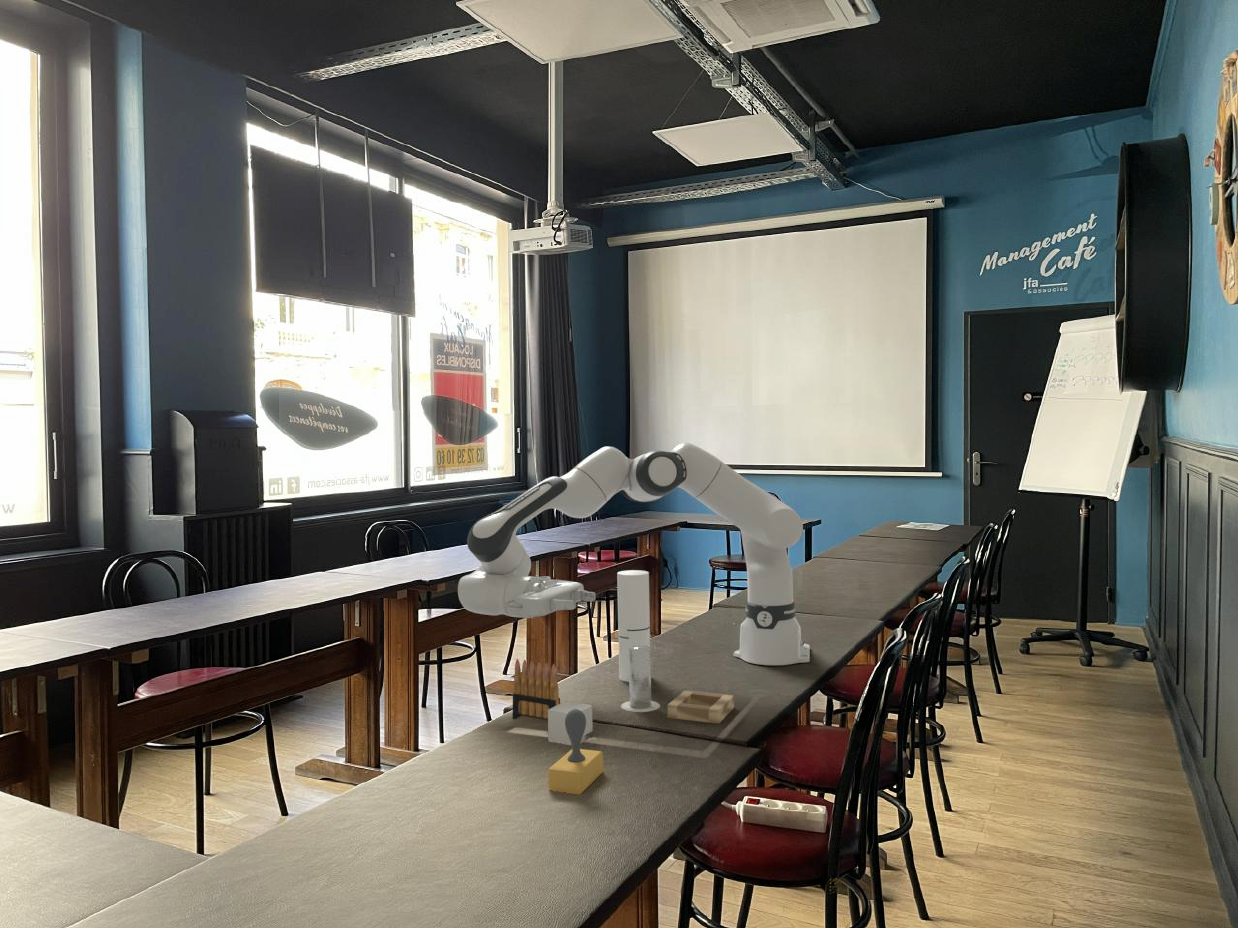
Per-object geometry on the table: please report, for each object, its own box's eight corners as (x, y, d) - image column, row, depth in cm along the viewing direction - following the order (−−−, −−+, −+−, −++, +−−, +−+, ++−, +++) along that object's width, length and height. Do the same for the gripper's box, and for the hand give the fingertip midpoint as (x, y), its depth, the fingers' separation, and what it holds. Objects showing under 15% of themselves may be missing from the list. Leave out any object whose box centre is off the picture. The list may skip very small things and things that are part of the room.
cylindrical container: (647, 687, 202) (645, 575, 201) (616, 685, 204) (614, 574, 203) (653, 678, 209) (651, 570, 208) (622, 677, 211) (620, 570, 210)
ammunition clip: (561, 723, 179) (560, 663, 178) (556, 726, 177) (554, 665, 176) (517, 715, 184) (516, 657, 184) (512, 718, 182) (510, 659, 182)
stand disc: (630, 702, 191) (630, 698, 191) (665, 706, 188) (665, 702, 188) (614, 714, 184) (614, 709, 184) (651, 718, 180) (651, 713, 180)
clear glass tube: (634, 701, 188) (633, 644, 188) (654, 703, 187) (653, 645, 186) (626, 707, 184) (625, 649, 184) (646, 709, 183) (645, 650, 182)
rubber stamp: (581, 795, 144) (579, 720, 143) (547, 790, 146) (546, 716, 145) (604, 772, 153) (602, 701, 152) (572, 768, 155) (570, 699, 154)
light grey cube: (576, 746, 166) (575, 714, 165) (548, 741, 168) (547, 709, 168) (592, 736, 171) (592, 704, 171) (565, 731, 174) (565, 700, 174)
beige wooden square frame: (685, 707, 187) (684, 690, 187) (734, 712, 183) (733, 695, 183) (667, 722, 178) (667, 704, 178) (718, 728, 174) (718, 710, 174)
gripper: (501, 590, 185) (561, 594, 180) (547, 575, 204) (604, 578, 199) (501, 621, 186) (562, 626, 180) (548, 602, 204) (604, 606, 199)
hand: (584, 600), depth 190 cm, fingers open, 8 cm apart
